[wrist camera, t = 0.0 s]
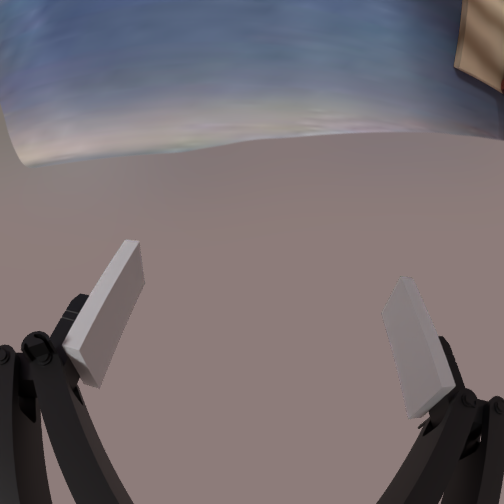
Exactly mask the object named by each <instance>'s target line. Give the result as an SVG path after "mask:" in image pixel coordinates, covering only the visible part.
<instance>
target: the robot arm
mask: <svg viewBox="0 0 504 504" xmlns="http://www.w3.org/2000/svg"><path fill="white" fill-rule="evenodd" d="M144 284H145V281H144V275H143V267H142V259H141V251H140V242H139V241H133V240H125V241H124V242H123V244H122V245H121V247H120V248H119V250H118V252H117V253H116V254H115V256H114V258H113V259H112V260H111V262H110V264H109V265H108V267H107V268H106V270H105V271H104V273H103V274H102V276H101V278H100V279H99V281H98V282H97V284H96V286H95V287H94V289H93V291H92V293H91V294H90V296H89V295H85V294H79V295H78V296H77V297H75V298H74V299H73V300H72V301H71V303H70V304H69V306H68V307H67V309H66V311H65V313H64V314H63V316H62V318H61V319H60V321H59V323H58V324H57V326H56V328H55V330H54V331H53V333H52V335H51V337H50V338H49V336H48V335H47V334H46V333H44V332H41V331H37V332H32V333H30V334H29V335H27V337H25V339H24V340H23V342H22V345H21V350H22V352H23V353H16V352H15V351H14V350H13V348H12V347H11V346H9V345H1V346H0V504H52V500H51V495H50V491H49V486H48V480H47V473H46V466H45V459H44V451H43V441H42V429H41V413H42V416H43V420H44V422H45V426H46V429H47V432H48V435H49V438H50V442H51V444H52V447H53V450H54V453H55V456H56V458H57V461H58V463H59V466H60V468H61V471H62V473H63V476H64V478H65V480H66V482H67V485H68V487H69V489H70V492H71V494H72V496H73V498H74V500H75V502H76V504H133V502H132V500H131V498H130V497H129V495H128V493H127V491H126V490H125V488H124V486H123V484H122V483H121V481H120V479H119V477H118V475H117V474H116V472H115V470H114V468H113V466H112V464H111V462H110V460H109V458H108V456H107V454H106V452H105V450H104V448H103V446H102V443H101V441H100V439H99V437H98V435H97V432H96V430H95V428H94V425H93V423H92V420H91V419H90V416H89V413H88V411H87V408H86V406H85V403H84V401H83V398H82V395H81V392H80V390H79V387H78V385H77V383H78V380H79V378H81V380H82V381H83V383H84V384H86V385H89V386H93V387H96V388H100V386H101V384H102V381H103V379H104V376H105V374H106V371H107V369H108V366H109V364H110V361H111V359H112V356H113V354H114V352H115V349H116V347H117V344H118V342H119V340H120V337H121V335H122V333H123V330H124V328H125V326H126V324H127V321H128V319H129V317H130V315H131V312H132V310H133V308H134V306H135V304H136V301H137V299H138V297H139V295H140V293H141V291H142V289H143V286H144ZM381 314H382V317H383V321H384V324H385V328H386V331H387V335H388V338H389V342H390V346H391V349H392V353H393V357H394V361H395V364H396V368H397V372H398V376H399V381H400V385H401V389H402V393H403V398H404V402H405V407H406V412H407V417H408V419H412V418H421V417H422V416H424V415H425V414H426V413H427V412H428V411H429V415H430V417H429V418H428V419H427V420H425V421H424V422H423V423H422V424H421V425H420V426H419V427H418V429H420V428H421V427H423V428H422V430H421V432H420V434H419V436H418V438H417V440H416V442H415V443H414V445H413V447H412V449H411V451H410V452H409V454H408V456H407V457H406V459H405V461H404V463H403V464H402V466H401V467H400V469H399V471H398V472H397V474H396V476H395V477H394V479H393V480H392V482H391V483H390V485H389V486H388V488H387V489H386V491H385V492H384V494H383V495H382V497H381V498H380V499H379V501H378V502H377V503H376V504H438V503H439V501H440V499H441V497H442V495H443V498H442V501H441V504H499V499H500V493H501V488H502V481H503V475H504V399H503V398H501V397H499V396H495V397H493V398H492V399H491V400H489V401H484V400H479V399H477V397H476V395H475V394H474V392H472V391H471V390H469V389H467V388H465V386H464V383H463V380H462V377H461V374H460V372H459V369H458V366H457V363H456V362H455V358H454V356H453V354H452V350H451V348H450V345H449V343H448V342H447V341H446V340H445V338H444V337H443V336H438V335H437V332H436V330H435V328H434V325H433V323H432V320H431V318H430V315H429V313H428V311H427V309H426V306H425V304H424V302H423V299H422V297H421V295H420V293H419V291H418V289H417V286H416V284H415V282H414V280H413V278H412V277H404V276H400V278H399V280H398V282H397V284H396V286H395V288H394V290H393V292H392V294H391V296H390V298H389V300H388V302H387V303H386V305H385V307H384V309H383V311H382V313H381ZM40 409H41V412H40ZM480 437H481V442H480ZM443 493H444V494H443Z"/></svg>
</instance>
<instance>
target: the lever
mask: <svg viewBox="0 0 504 504" xmlns="http://www.w3.org/2000/svg"><path fill="white" fill-rule="evenodd" d="M501 90H502V93H503V94H504V79H503V80H502V82H501Z"/></svg>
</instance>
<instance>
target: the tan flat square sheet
mask: <svg viewBox="0 0 504 504" xmlns="http://www.w3.org/2000/svg"><path fill="white" fill-rule="evenodd" d="M454 67H455V68H457V69H459V70H461V71H463V72H465V73H467V74H469V75H471V76H472V77H474V78H476V79H478V80H480V81H482V82H483V83H485V84H487V85H489V86H490V87H492V88H494V89H496V90H497V91H499V92H500V93H502V90H501V82H502V80H503V79H504V0H462V11H461V21H460V29H459V37H458V44H457V50H456V56H455V62H454ZM502 94H503V93H502Z"/></svg>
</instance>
